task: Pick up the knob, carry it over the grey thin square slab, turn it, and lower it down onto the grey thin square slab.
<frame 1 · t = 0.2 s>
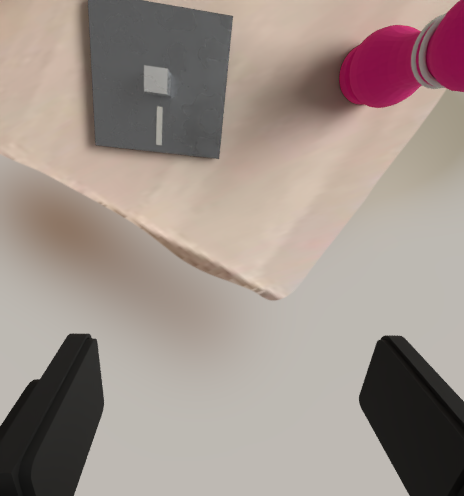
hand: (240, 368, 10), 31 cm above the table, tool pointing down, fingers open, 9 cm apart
pepper mill: (363, 75, 35), on the table
grey thin square slab: (162, 85, 33), on the table
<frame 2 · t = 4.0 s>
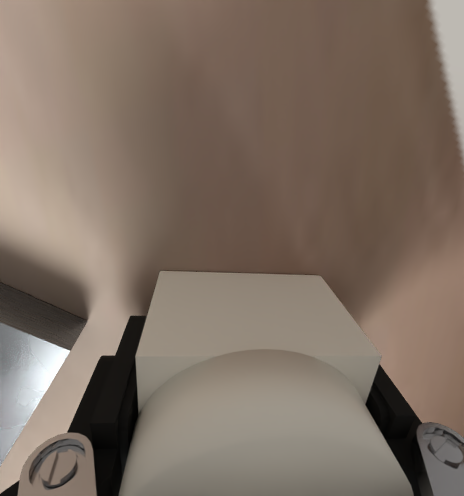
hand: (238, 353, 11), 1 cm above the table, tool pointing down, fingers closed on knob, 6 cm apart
knob: (235, 338, 11), on the table, touching gripper
when the fingers open (3 cm above the table, at t = 9.2 s): knob stays where it is, resting on grey thin square slab.
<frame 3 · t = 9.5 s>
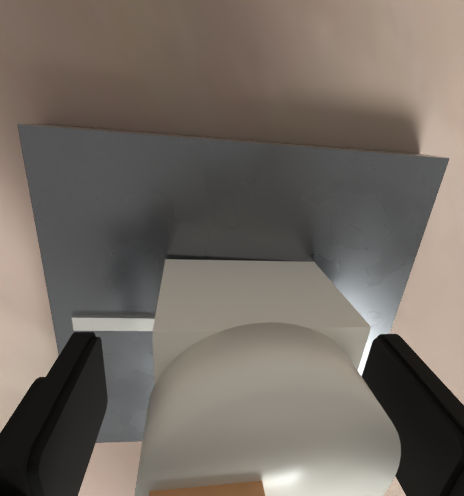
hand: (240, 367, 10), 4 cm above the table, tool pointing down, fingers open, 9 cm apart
knob: (236, 322, 12), point 2 cm above the table, touching grey thin square slab
grey thin square slab: (230, 302, 14), on the table
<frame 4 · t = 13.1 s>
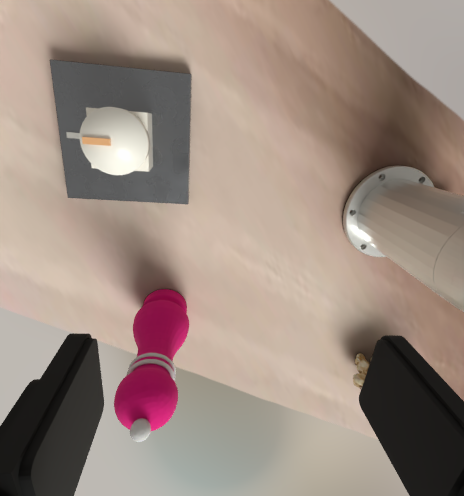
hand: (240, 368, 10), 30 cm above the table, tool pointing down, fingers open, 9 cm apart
pepper mill: (165, 306, 44), on the table
knob: (126, 138, 33), point 2 cm above the table, touching grey thin square slab
mineral formation: (368, 367, 53), on the table
grey thin square slab: (129, 138, 35), on the table
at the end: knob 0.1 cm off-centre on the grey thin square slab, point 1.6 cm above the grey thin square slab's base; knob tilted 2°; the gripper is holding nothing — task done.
